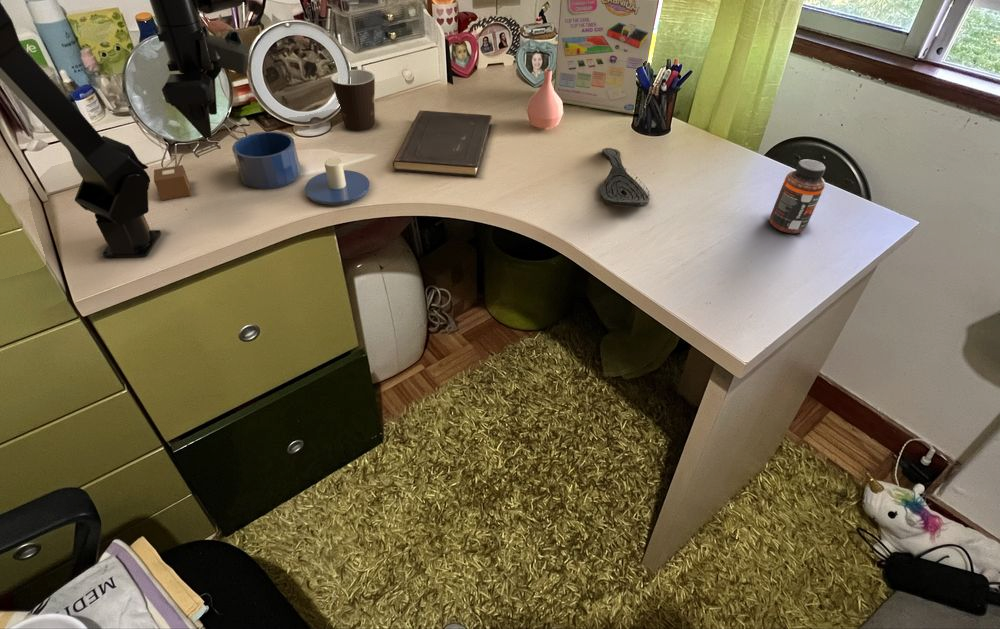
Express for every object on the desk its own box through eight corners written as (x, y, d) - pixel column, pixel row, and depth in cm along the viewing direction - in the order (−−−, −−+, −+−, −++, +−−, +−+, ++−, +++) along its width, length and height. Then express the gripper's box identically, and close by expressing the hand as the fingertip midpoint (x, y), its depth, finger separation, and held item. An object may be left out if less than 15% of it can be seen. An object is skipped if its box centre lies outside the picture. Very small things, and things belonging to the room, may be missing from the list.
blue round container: (294, 188, 103) (287, 157, 99) (234, 189, 103) (225, 158, 99) (305, 161, 111) (299, 131, 107) (249, 161, 110) (241, 131, 106)
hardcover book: (491, 125, 125) (491, 115, 124) (477, 177, 108) (477, 166, 107) (418, 120, 126) (417, 110, 125) (393, 171, 109) (391, 159, 108)
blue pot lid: (366, 207, 100) (362, 177, 96) (300, 207, 99) (293, 178, 95) (373, 175, 108) (369, 146, 104) (312, 175, 107) (306, 147, 103)
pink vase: (538, 116, 129) (542, 61, 121) (568, 126, 126) (574, 69, 118) (518, 128, 124) (521, 71, 116) (549, 138, 121) (554, 80, 113)
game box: (643, 108, 134) (669, -25, 116) (639, 117, 130) (665, -20, 112) (557, 93, 139) (569, -37, 121) (550, 101, 136) (562, -31, 117)
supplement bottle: (801, 239, 96) (829, 177, 88) (764, 228, 98) (788, 166, 90) (808, 222, 100) (835, 162, 92) (772, 212, 102) (796, 152, 94)
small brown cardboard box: (191, 195, 101) (183, 175, 98) (161, 200, 99) (153, 179, 97) (189, 184, 104) (182, 163, 101) (161, 189, 102) (153, 168, 100)
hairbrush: (630, 138, 116) (658, 198, 96) (627, 156, 118) (654, 217, 99) (588, 138, 116) (609, 197, 96) (586, 155, 118) (605, 217, 98)
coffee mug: (371, 135, 120) (365, 86, 113) (332, 130, 121) (323, 82, 114) (390, 113, 129) (385, 66, 122) (353, 109, 130) (347, 62, 123)
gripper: (233, 38, 79) (261, 146, 89) (241, 2, 92) (265, 100, 102) (143, 41, 76) (182, 152, 86) (165, 4, 90) (197, 104, 100)
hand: (210, 125), depth 94 cm, fingers open, 9 cm apart
